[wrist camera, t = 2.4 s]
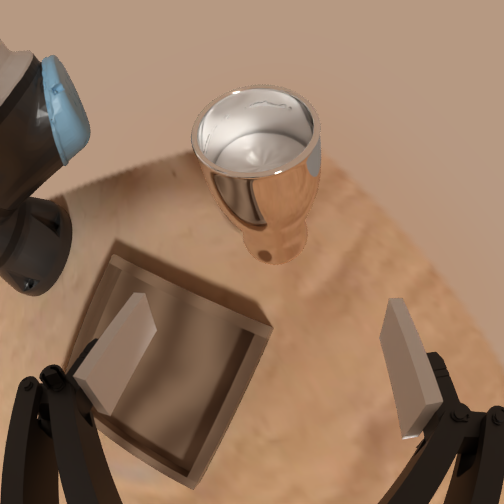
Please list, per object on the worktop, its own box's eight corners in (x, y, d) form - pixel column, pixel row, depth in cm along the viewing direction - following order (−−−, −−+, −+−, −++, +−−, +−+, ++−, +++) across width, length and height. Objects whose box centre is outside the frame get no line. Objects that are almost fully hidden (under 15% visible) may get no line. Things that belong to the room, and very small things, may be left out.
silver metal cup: (290, 283, 26) (285, 206, 12) (225, 248, 28) (160, 154, 14) (324, 219, 27) (344, 103, 13) (261, 191, 29) (233, 72, 15)
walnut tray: (70, 393, 29) (58, 395, 27) (123, 259, 34) (113, 253, 32) (200, 481, 24) (193, 489, 22) (273, 328, 29) (271, 326, 27)
